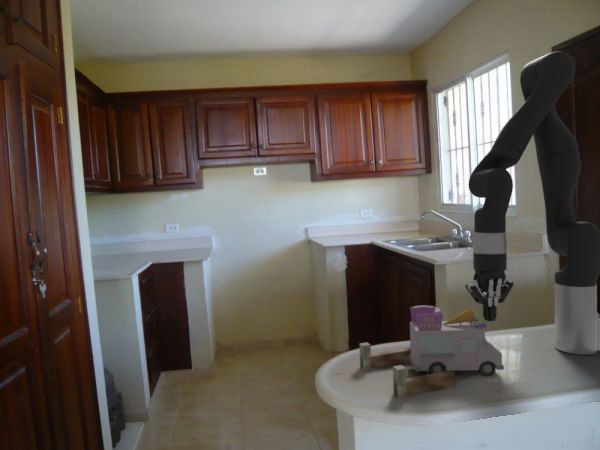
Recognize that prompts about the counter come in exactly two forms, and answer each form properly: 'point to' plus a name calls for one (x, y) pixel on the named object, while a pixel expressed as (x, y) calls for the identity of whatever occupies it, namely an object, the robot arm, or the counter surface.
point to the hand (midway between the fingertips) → (489, 320)
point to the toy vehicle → (451, 343)
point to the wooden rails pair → (404, 372)
